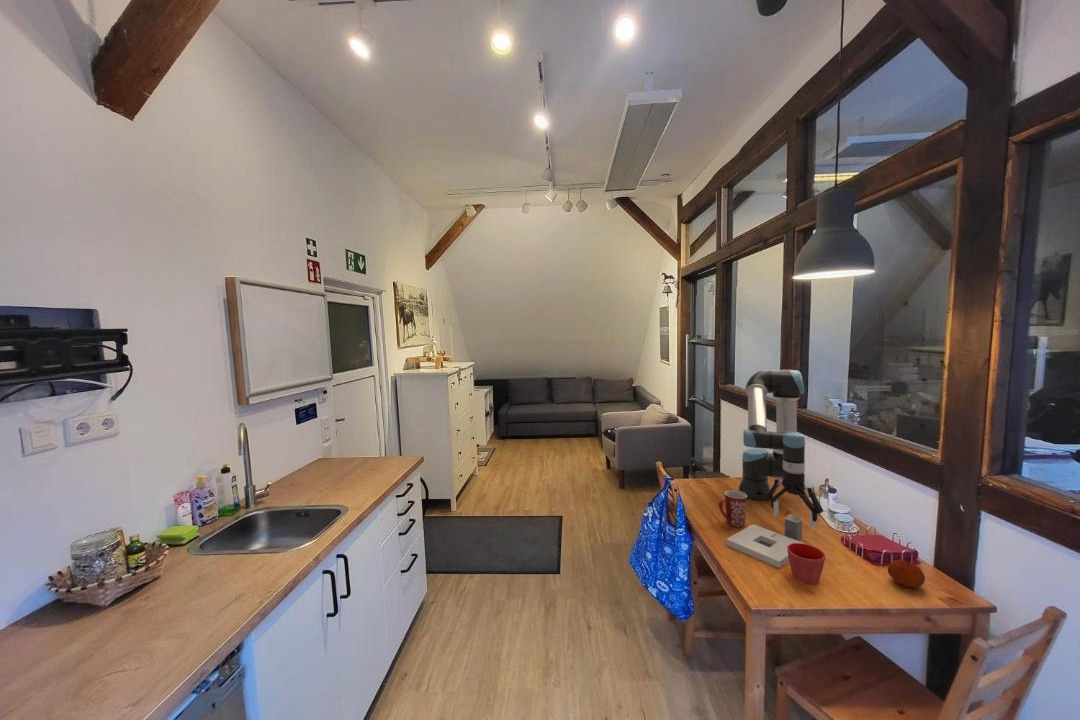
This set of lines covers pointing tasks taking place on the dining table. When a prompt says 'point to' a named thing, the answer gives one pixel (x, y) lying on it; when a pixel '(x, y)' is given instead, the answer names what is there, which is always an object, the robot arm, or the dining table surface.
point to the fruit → (906, 573)
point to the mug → (734, 508)
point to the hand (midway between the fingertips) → (793, 522)
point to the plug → (793, 527)
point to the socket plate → (762, 544)
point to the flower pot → (806, 562)
